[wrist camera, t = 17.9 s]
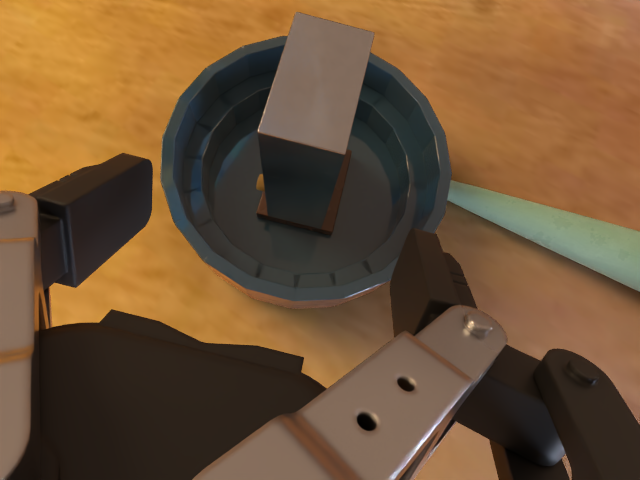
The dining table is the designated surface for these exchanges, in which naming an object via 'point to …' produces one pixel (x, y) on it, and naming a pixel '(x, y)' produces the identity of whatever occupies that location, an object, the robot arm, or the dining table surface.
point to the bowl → (243, 198)
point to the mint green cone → (559, 231)
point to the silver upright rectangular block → (311, 122)
